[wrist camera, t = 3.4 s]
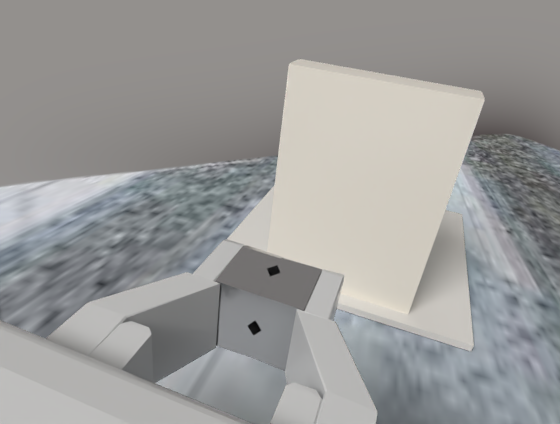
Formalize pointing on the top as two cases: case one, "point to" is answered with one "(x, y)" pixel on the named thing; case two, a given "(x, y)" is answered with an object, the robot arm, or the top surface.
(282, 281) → the robot arm
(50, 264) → the top surface
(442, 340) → the mat
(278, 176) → the tile
